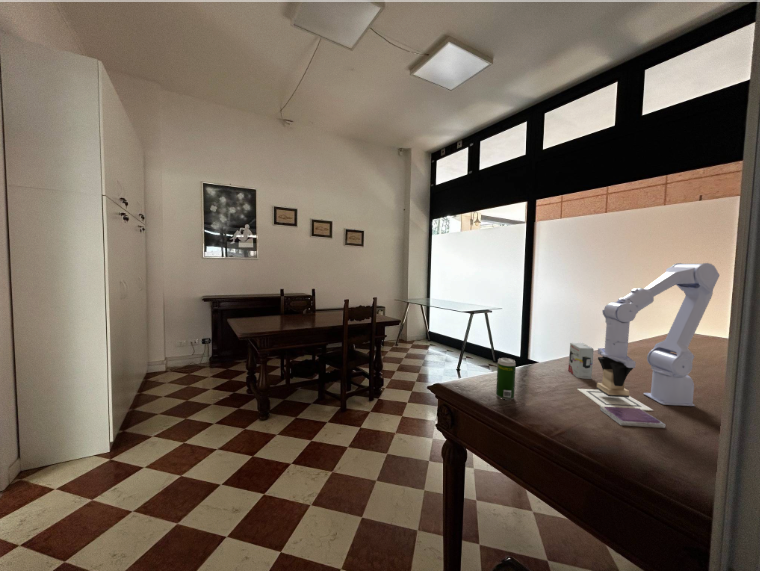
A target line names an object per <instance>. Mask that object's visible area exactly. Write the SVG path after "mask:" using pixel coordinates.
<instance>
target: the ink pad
mask: <svg viewBox="0 0 760 571" xmlns="http://www.w3.org/2000/svg"><path fill="white" fill-rule="evenodd" d="M599 410H600V411H601V412H602V413H603V414H605V415H607V417H609V418H610V419H611V420H613V421H614V422H616V423H617V424H618V425H620V426H624V427H643V428H644V427H645V428H662V429H665V428H666V424H665V423H664V422H663V421H661V420H659V419H658V418H657V417H655V416H653V415H652V414H650V413H648V412H647V411H643V410H641V409H640V408H622V407H603V406H599Z"/></svg>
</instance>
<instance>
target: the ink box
mask: <svg viewBox="0 0 760 571" xmlns="http://www.w3.org/2000/svg"><path fill="white" fill-rule="evenodd" d="M594 351H595V349H594V347H592V346H589V345H588V344H586V343H583V342H570V343H569V356H568V370H567V371H568V372H569V373H570V374H572V375H573V376H575V377H576V378H577V379H585V380H587V379H588V380H592V377H593V364H594Z"/></svg>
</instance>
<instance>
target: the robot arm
mask: <svg viewBox="0 0 760 571" xmlns="http://www.w3.org/2000/svg"><path fill="white" fill-rule="evenodd" d="M719 277H720V273H719V272H718V270H717V268H716V266H715V265H713V264H712V263H709V262H705V263H704V262H703V263H681V262H679V263H678V262H677V263H674V264H672V266H670V267H667V268H666V269H665V272H664V273H663V274H661V275H660V276H659V277H658V278H655V280H653V281H652V282H650V283H649V284H648V285H647V286H645V287H644V288H642V287H636V288H632V289H630V292H629V293H628V294H626V295H624V296H623V297H619V298H618V299H617V301H611V302H609V303H608V304H607V303H606V305H605V306H604V307H603V308H604V309H602V315H603V317H604V318H605V323H606V326H605V337H604V338H605V340H604V342H605V343H604V347H601V348H600V347H598V348H597V354H598V355H600V356H598V357H597V360H598V362H599V363H600V366H601V369H602V370H603V369H612V370H613V380H614V385H615V386H623V384H624V385H625V382H624V381H626V379H627V377H628V375H630V372H631V371H632V370H633V369H636V364H637V363H636V362H637V361H635V360H633V359H632V358H630V357H629V356H628V350H629V336H630V335H629V334H630V324H631V322H633V321H634V320H635V319H636V316H637V314H638V313H639V312H640V311H642V310H643V309H645V308H646V307H648V306H650V305H651V304H652V303H653V302H654V300H655V297H656V296H657V295H660V294H661V293H664V292H665V291H667V290H669V289H670V288H672V287H674V286H677V287H678V289H680V290H681V291H682V292H683V293H684V294H685V297H684V298H683V300H682V302H681V305H680V307H679V309H678V312H677V313H676V316H675V318H674V320H673V322H672V324H671V327H670V329H669V331H668V333H667V335H666V337H665V339H664V340H662V341H660V342H657V343H655V345H654V346H653V348H652V349H651V350H649V352H648V353H647V355H646V360H647V363H648V365H650V369H651V370H652V376H651V377H652V378H651V385H650V386H651V388H650V392H643V395H644V396H646V397H648V398H649V399H652V400H653V401H655V402H657V403H659V404H661V405H665V406H683V407H695V406H696V404H694V403H693V402H694V392H695V384H694V380H693V379H692V377H691V376H690V375H689V374H690V373H691V372H692V370H693V360H694V359H695V354H694V353H693V352H692V351H691V350H690V349H689V346H690V344H691V342H692V340H693V338H694V335H695V333H696V331H697V329H698V327H699V325H700V323H701V320H702V319H703V316H704V314H705V312H706V310H707V307H708V305H709V303H710V301H711V299H712V296H713V294H714V288H715V287H716V284H717V282H718V280H719Z"/></svg>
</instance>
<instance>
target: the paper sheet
mask: <svg viewBox="0 0 760 571" xmlns="http://www.w3.org/2000/svg"><path fill="white" fill-rule="evenodd" d="M576 389H577V391H579V392H580V393H581V394H583V395H584V396H586V398H588V399H589V400H591V401H592V402H594V403H595V404H596V405H598V406H599V407H600V406H603V407H622V408H640V409H641V410H643V411H645V412H653V411H654V409H652V408H651V407H649V406H647V405H646V404H644V403H642V402H640V401H639V400H637V399H635V398H634V397H632V396H631V395H629V397H610V396H607V395H606V394H604V393H603V392H601V391H599V390H598V389H591V388H576Z"/></svg>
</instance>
